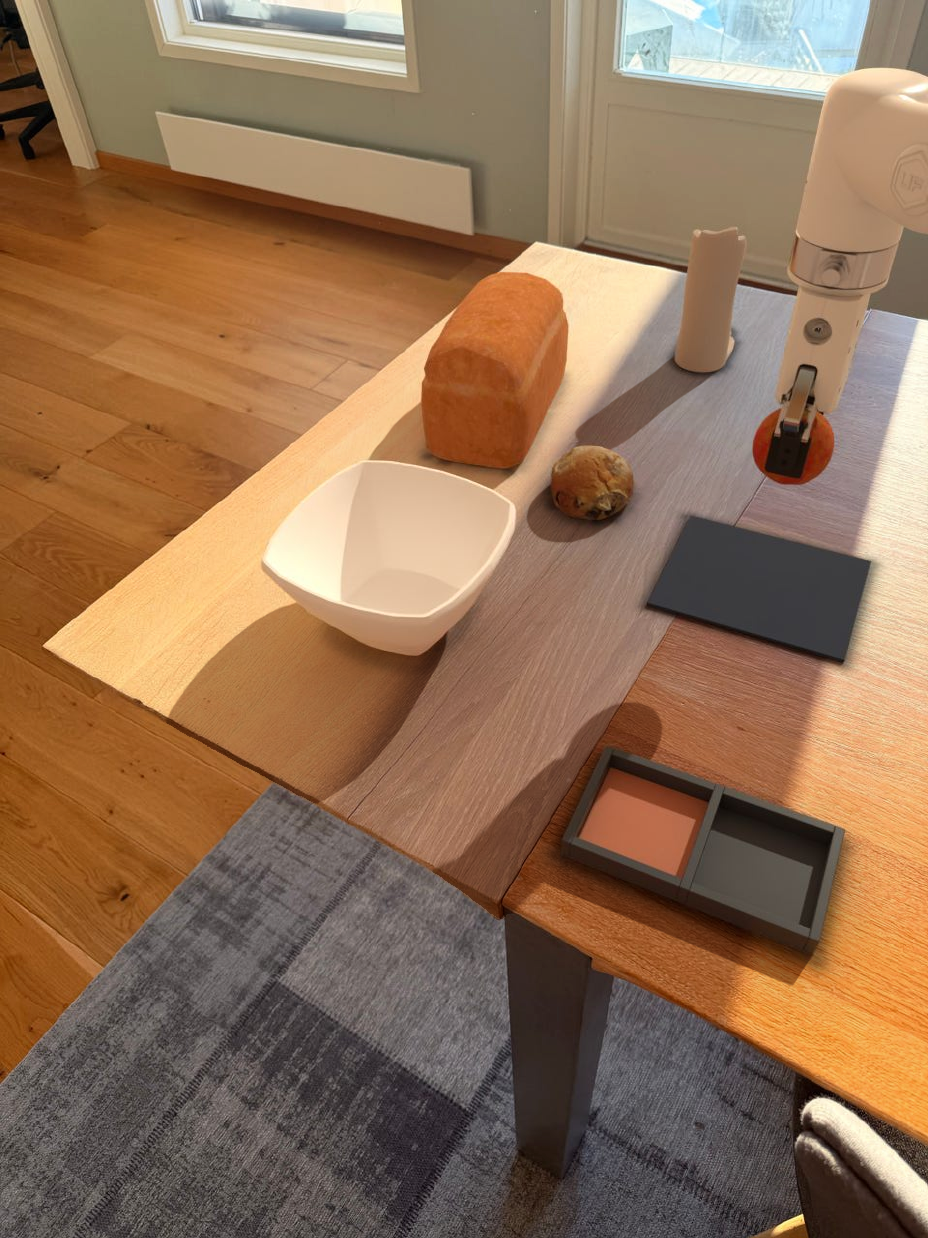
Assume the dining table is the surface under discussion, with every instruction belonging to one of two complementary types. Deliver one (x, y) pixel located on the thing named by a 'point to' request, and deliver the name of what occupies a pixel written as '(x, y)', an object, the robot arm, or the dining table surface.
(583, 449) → the bread roll
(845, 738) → the dining table surface
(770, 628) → the mat
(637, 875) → the tray
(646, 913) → the dining table surface
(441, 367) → the bread
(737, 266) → the candle
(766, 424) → the fruit
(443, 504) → the bowl
